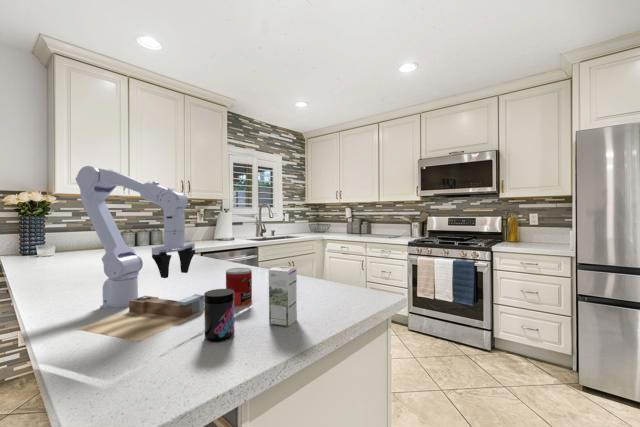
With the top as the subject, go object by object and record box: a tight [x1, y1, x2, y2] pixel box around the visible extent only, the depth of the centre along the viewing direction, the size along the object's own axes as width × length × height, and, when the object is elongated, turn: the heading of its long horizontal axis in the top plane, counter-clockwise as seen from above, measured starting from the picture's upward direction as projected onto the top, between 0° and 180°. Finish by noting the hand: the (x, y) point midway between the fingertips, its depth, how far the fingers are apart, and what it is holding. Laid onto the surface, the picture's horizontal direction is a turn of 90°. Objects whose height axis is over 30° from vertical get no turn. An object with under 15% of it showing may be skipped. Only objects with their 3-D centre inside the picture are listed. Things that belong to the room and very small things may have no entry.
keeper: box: [176, 293, 204, 313], centre depth 83 cm, size 3×7×4 cm, turn 160°
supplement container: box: [203, 288, 235, 343], centre depth 70 cm, size 7×7×10 cm
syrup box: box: [268, 265, 298, 328], centre depth 79 cm, size 6×6×14 cm
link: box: [128, 295, 192, 318], centre depth 85 cm, size 19×5×3 cm, turn 70°
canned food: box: [225, 267, 253, 307], centre depth 94 cm, size 8×8×11 cm
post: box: [138, 295, 148, 301], centre depth 87 cm, size 2×2×4 cm
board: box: [76, 310, 204, 342], centre depth 80 cm, size 21×23×1 cm
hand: (174, 275), depth 92 cm, fingers open, 7 cm apart
